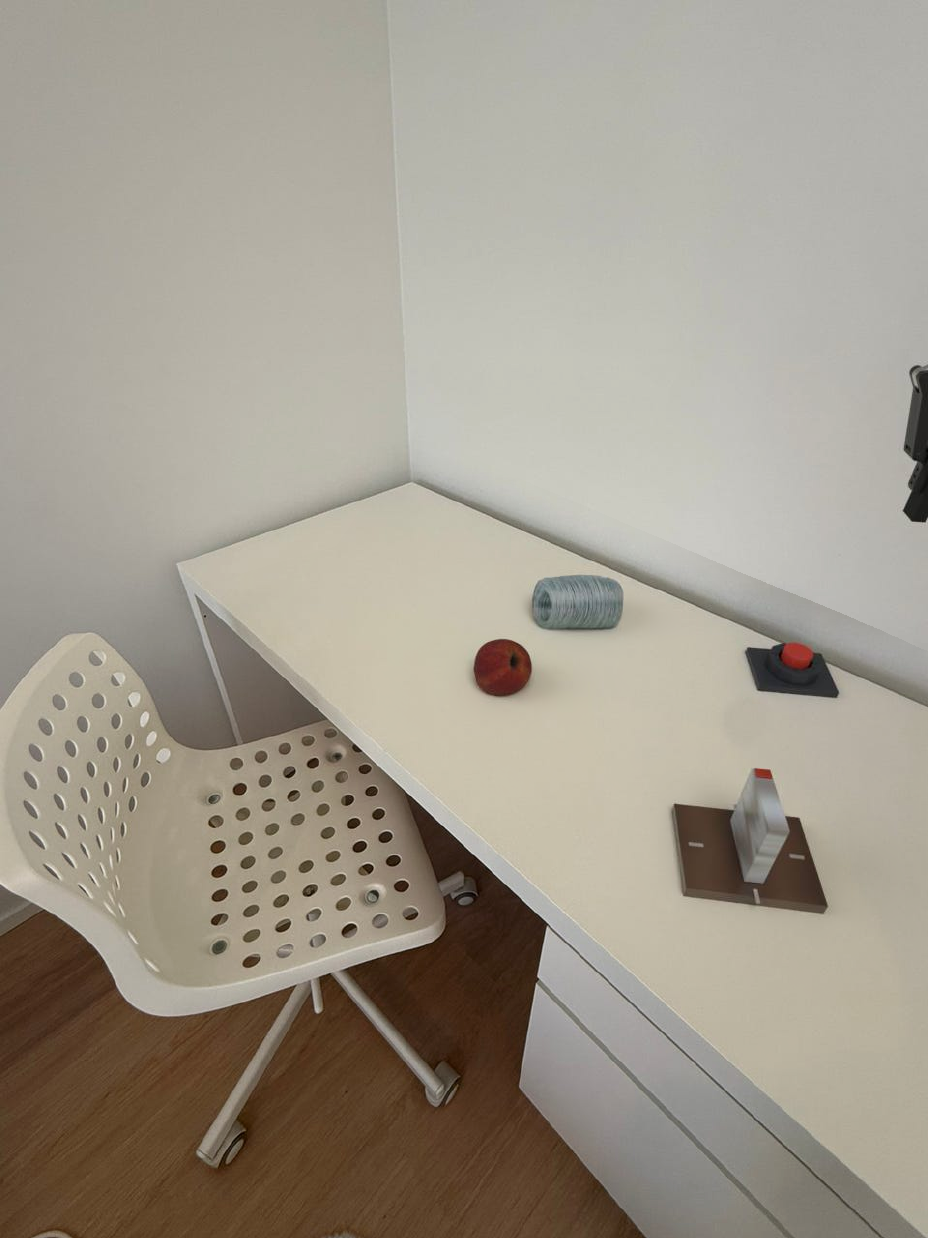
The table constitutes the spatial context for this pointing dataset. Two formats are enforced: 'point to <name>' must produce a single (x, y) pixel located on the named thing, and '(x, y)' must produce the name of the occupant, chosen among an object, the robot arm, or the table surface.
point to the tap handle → (758, 825)
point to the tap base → (718, 870)
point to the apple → (502, 667)
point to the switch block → (790, 674)
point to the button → (796, 655)
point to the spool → (577, 602)
